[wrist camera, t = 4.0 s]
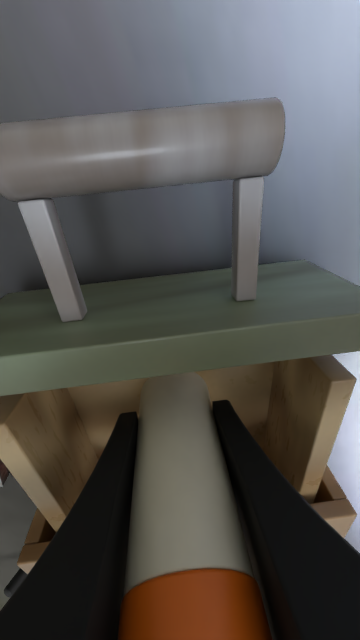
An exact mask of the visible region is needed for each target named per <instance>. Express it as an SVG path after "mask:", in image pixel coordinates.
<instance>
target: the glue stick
mask: <svg viewBox="0 0 360 640" xmlns="http://www.w3.org/2000/svg"><path fill="white" fill-rule="evenodd" d="M118 640H273V639H272V635H271V631H270V627H269V623H268V619H267V615H266V612H265V608H264V604H263V600H262V596H261V592H260V588H259V585H258V583H257V581H256V580H255V577H254V573H253V569H252V565H251V561H250V556H249V552H248V548H247V544H246V540H245V536H244V532H243V528H242V524H241V520H240V516H239V512H238V508H237V504H236V500H235V496H234V492H233V488H232V484H231V480H230V476H229V472H228V468H227V464H226V460H225V456H224V452H223V448H222V444H221V441H220V437H219V434H218V430H217V426H216V422H215V418H214V414H213V408H212V404H211V400H210V395H209V391H208V387H207V384H206V383H205V381H204V380H203V378H202V377H200V376H199V375H198V374H197V373H195V372H189V373H181V374H173V375H165V376H157V377H150V378H149V379H148V380H147V381H146V382H145V383H144V385H143V387H142V389H141V395H140V407H139V419H138V432H137V444H136V455H135V467H134V479H133V491H132V503H131V515H130V527H129V539H128V551H127V563H126V575H125V587H124V597H123V600H122V603H121V609H120V620H119V631H118Z"/></svg>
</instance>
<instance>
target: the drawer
mask: <svg viewBox="0 0 360 640" xmlns="http://www.w3.org/2000/svg"><path fill="white" fill-rule="evenodd" d="M284 135H285V112H284V107H283V104H282V102H281V100H279V99H278V98H275V97H274V98H264V99H253V100H242V101H232V102H221V103H210V104H200V105H189V106H178V107H167V108H157V109H146V110H135V111H125V112H114V113H103V114H93V115H82V116H71V117H60V118H50V119H39V120H28V121H18V122H7V123H0V194H1V195H2V196H4V197H5V198H6V199H8V200H11V201H14V202H18V201H19V202H18V206H19V209H20V211H21V214H22V217H23V219H24V222H25V224H26V227H27V230H28V232H29V235H30V238H31V240H32V243H33V246H34V248H35V251H36V254H37V256H38V259H39V262H40V264H41V267H42V270H43V272H44V275H45V278H46V280H47V283H48V286H49V288H50V289H41V290H33V291H24V292H15V293H8V294H7V295H6V296H4V297H3V298H1V299H0V459H1V461H2V462H3V463H4V464H5V466H6V467H7V468H8V470H9V471H10V472H11V474H12V475H13V476H14V478H15V479H16V480H17V482H18V483H19V484H20V486H21V487H22V488H23V489H24V491H25V492H26V493H27V495H28V496H29V497H30V499H31V500H32V501H33V503H34V504H35V505H36V507H37V508H38V509H39V511H40V512H41V513H42V514H43V516H44V517H45V518H46V520H47V521H48V522H49V524H50V525H51V526H52V528H53V529H54V530H55V532H57V531H58V529H59V528H60V526H61V525H62V523H63V522H64V520H65V518H66V517H67V515H68V514H69V512H70V510H71V509H72V507H73V505H74V504H75V502H76V500H77V499H78V497H79V495H80V493H81V492H82V490H83V488H84V486H85V485H86V483H87V481H88V479H89V477H90V476H91V474H92V472H93V470H94V468H95V466H96V464H97V462H98V460H99V458H100V456H101V454H102V452H103V450H104V448H105V446H106V444H107V442H108V440H109V438H110V436H111V433H112V431H113V429H114V427H115V424H116V422H117V419H118V417H119V415H120V414H121V413H126V412H134V411H136V413H137V417H138V419H139V407H140V395H141V389H142V387H143V385H144V383H145V382H146V381H147V380H148V379H149V378H150V377H157V376H165V375H173V374H181V373H189V372H195V373H197V374H198V375H199V376H200V377H202V378H203V380H204V381H205V383H206V384H207V387H208V391H209V395H210V400H211V404H212V401H219V400H228V401H230V403H231V405H232V407H233V408H234V410H235V412H236V413H237V415H238V416H239V418H240V419H241V421H242V422H243V424H244V425H245V427H246V428H247V430H248V431H249V433H250V434H251V435H252V437H253V438H254V439H255V441H256V442H257V443H258V445H259V446H260V447H261V449H262V450H263V451H264V453H265V454H266V455H267V456H268V458H269V459H270V460H271V461H272V462H273V464H274V465H275V466H276V467H277V469H278V470H279V471H280V472H281V473H282V474H283V476H284V477H285V478H286V479H287V480H288V481H289V482H290V484H291V485H292V486H293V487H294V488H295V489H296V490H297V491H298V492H299V494H300V495H301V496H302V497H303V498H304V499H305V500H306V501H307V502H308V503H309V504H313V502H314V499H315V496H316V494H317V491H318V488H319V485H320V482H321V479H322V476H323V474H324V471H325V468H326V465H327V462H328V459H329V457H330V454H331V451H332V448H333V445H334V442H335V440H336V437H337V434H338V431H339V428H340V425H341V423H342V420H343V417H344V414H345V411H346V408H347V406H348V403H349V400H350V397H351V394H352V391H353V389H354V386H355V383H356V378H355V377H354V376H353V375H352V374H351V373H350V372H349V371H348V370H347V369H346V368H345V367H344V366H343V365H342V364H341V363H340V362H339V361H338V360H337V359H336V358H334V357H333V356H332V354H340V353H348V352H356V351H360V286H358V285H356V284H354V283H352V282H350V281H348V280H346V279H344V278H342V277H339V276H337V275H335V274H333V273H331V272H329V271H327V270H325V269H323V268H321V267H319V266H317V265H315V264H313V263H311V262H309V261H307V260H297V261H288V262H279V263H270V264H261V265H258V261H259V246H260V231H261V217H262V202H263V188H264V177H262V176H268V175H269V174H271V173H272V172H273V171H274V169H275V168H276V166H277V164H278V161H279V158H280V155H281V152H282V147H283V142H284ZM232 179H235V180H234V181H233V207H232V268H226V269H217V270H209V271H200V272H191V273H182V274H173V275H165V276H156V277H147V278H138V279H129V280H121V281H112V282H103V283H94V284H85V285H79V282H78V279H77V275H76V272H75V269H74V266H73V262H72V259H71V256H70V253H69V250H68V246H67V243H66V240H65V237H64V233H63V230H62V227H61V224H60V220H59V217H58V214H57V211H56V208H55V204H54V201H53V199H51V198H57V197H66V196H76V195H86V194H96V193H105V192H115V191H125V190H134V189H144V188H154V187H164V186H173V185H183V184H193V183H202V182H212V181H222V180H232ZM212 408H213V407H212Z"/></svg>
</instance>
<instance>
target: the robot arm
mask: <svg viewBox="0 0 360 640" xmlns="http://www.w3.org/2000/svg"><path fill="white" fill-rule="evenodd" d="M212 407H213V414H214V418H215V422H216V426H217V430H218V434H219V437H220V441H221V444H222V448H223V452H224V456H225V460H226V464H227V468H228V472H229V476H230V480H231V484H232V488H233V492H234V496H235V500H236V504H237V508H238V512H239V516H240V520H241V524H242V528H243V532H244V536H245V540H246V544H247V548H248V552H249V556H250V561H251V565H252V569H253V573H254V577H255V580H256V581H257V583H258V585H259V588H260V592H261V596H262V600H263V604H264V608H265V612H266V615H267V619H268V623H269V627H270V631H271V635H272V639H273V640H360V553H359V552H358V551H357V550H356V549H355V548H354V547H352V546H351V545H350V544H349V543H348V542H347V541H346V540H345V539H344V538H343V537H342V536H341V535H340V534H339V533H338V532H337V531H336V530H335V529H334V528H333V527H332V526H331V525H330V524H329V523H327V522H326V521H325V520H324V519H323V518H322V517H321V516H320V515H319V513H318V512H317V511H316V510H315V509H314V508H313V507H312V506H311V505H310V504H309V503H308V502H307V501H306V500H305V499H304V498H303V497H302V496H301V495H300V494H299V492H298V491H297V490H296V489H295V488H294V487H293V486H292V485H291V484H290V482H289V481H288V480H287V479H286V478H285V477H284V476H283V474H282V473H281V472H280V471H279V470H278V469H277V467H276V466H275V465H274V464H273V462H272V461H271V460H270V459H269V458H268V456H267V455H266V454H265V453H264V451H263V450H262V449H261V447H260V446H259V445H258V443H257V442H256V441H255V439H254V438H253V437H252V435H251V434H250V433H249V431H248V430H247V428H246V427H245V425H244V424H243V422H242V421H241V419H240V418H239V416H238V415H237V413H236V412H235V410H234V408H233V407H232V405H231V403H230V401H228V400H219V401H212ZM137 432H138V417H137V413H136V411H134V412H126V413H121V414H120V415H119V417H118V419H117V422H116V424H115V427H114V429H113V431H112V433H111V436H110V438H109V440H108V442H107V444H106V446H105V448H104V450H103V452H102V454H101V456H100V458H99V460H98V462H97V464H96V466H95V468H94V470H93V472H92V474H91V476H90V477H89V479H88V481H87V483H86V485H85V486H84V488H83V490H82V492H81V493H80V495H79V497H78V499H77V500H76V502H75V504H74V505H73V507H72V509H71V510H70V512H69V514H68V515H67V517H66V518H65V520H64V522H63V523H62V525H61V526H60V528H59V529H58V531H57V532H56V534H55V536H54V537H53V539H52V540H51V541H50V543H49V544H48V546H47V547H46V549H45V550H44V552H43V553H42V555H41V556H40V558H39V559H38V561H37V562H36V563H35V565H34V566H33V568H32V569H31V570H30V572H29V573H28V575H27V576H26V577H25V579H24V580H23V582H22V583H21V584H20V586H19V587H18V588H17V590H16V591H15V592H14V594H13V595H12V596H11V598H10V599H9V600H8V602H7V603H6V604H5V606H4V607H3V608H2V610H1V611H0V640H118V631H119V620H120V609H121V603H122V600H123V597H124V587H125V575H126V563H127V551H128V539H129V527H130V515H131V503H132V491H133V479H134V467H135V455H136V444H137Z"/></svg>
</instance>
